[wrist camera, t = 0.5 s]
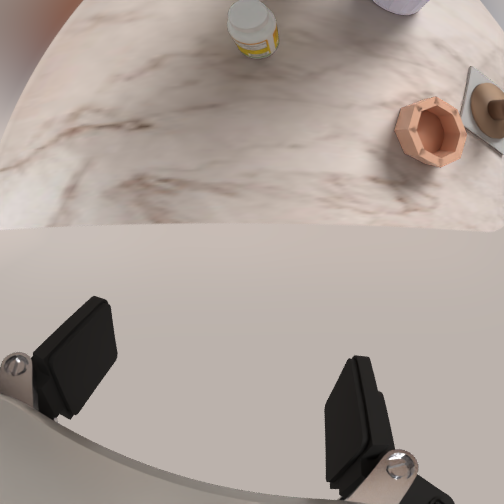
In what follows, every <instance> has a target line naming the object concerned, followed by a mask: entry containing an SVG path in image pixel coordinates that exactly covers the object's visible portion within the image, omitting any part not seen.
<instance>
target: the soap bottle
mask: <svg viewBox="0 0 504 504" xmlns="http://www.w3.org/2000/svg"><path fill="white" fill-rule="evenodd" d="M373 1H374V2H375V3H376V4H377V5H379V6H380V7H382V8H384V9H385V10H387V11H390V12H392V13H395V14H400V15H410V14H414V13H416V12H418V11H419V10H420V9H421V8H422V7H423V6H424V5H425V4H426V3H427V2H428V1H429V0H373Z"/></svg>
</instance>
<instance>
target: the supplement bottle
mask: <svg viewBox="0 0 504 504" xmlns="http://www.w3.org/2000/svg"><path fill="white" fill-rule="evenodd" d="M227 28H228V32H229V34H230V35H231V37H232V38H233V40H234V42H235V43H236V45H237V47H238V48H239V50H240V51H241V52H242V53H243V54H244V55H246V56H247V57H250V58H254V59H261V58H266V57H268V56H270V55H271V54H273V53H274V52H275V51H276V49H277V47H278V44H279V37H278V30H277V23H276V18H275V16H274V14H273V13H272V12H271V11H270V10H269V9H268V8H267V7H266V6H265V5H264V4H263V3H262V2H261V1H259V0H239V1H237V2H235V3H234V4H233V5H232V6H231V7H230V9H229V11H228V21H227Z"/></svg>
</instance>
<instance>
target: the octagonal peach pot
mask: <svg viewBox="0 0 504 504" xmlns="http://www.w3.org/2000/svg"><path fill="white" fill-rule="evenodd" d="M394 131H395V133H396V135H397V137H398V140H399V142H400V144H401V147H402V149H403V151H404V154H406V155H408V156H411V157H413V158H415V159H416V160H418V161H420V162H422V163H424V164H428V165H432V166H436V167H440V168H441V167H443V166H445V165H447V164H449V163H451V162H454V161H456V160H458V159H460V158H461V154H462V151H463V148H464V144H465V140H466V137H467V133H466V131H465V128H464V125H463V122H462V120H461V117H460V115H459V112H458V110H457V109H456V108H454V107H453V106H451V105H449V104H448V103H446V102H444V101H443V100H441V99H439V98H438V97H436V96H435V97H431V98H428V99H424V100H420V101H418V102H416V103H413V104H410V105H408V106H405V107H402V108H401V110H400V113H399V117H398V120H397V123H396V127H395V130H394Z"/></svg>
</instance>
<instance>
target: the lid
mask: <svg viewBox="0 0 504 504" xmlns="http://www.w3.org/2000/svg"><path fill="white" fill-rule="evenodd" d="M470 104H471V111H472V115H473V118H474V120H475V122H476V124H477V126H478V127H479V129H480V130H481V131H482V132H483V133H484V134H485V135H487V136H488V137H490V138H496V139H501V138H504V92H503V91H502V90H501V89H500V88H499V87H497V86H496V85H494V84H492V83H482V84H479V85H477V86H476V87H475V88H474V89H473V91H472V94H471V100H470Z"/></svg>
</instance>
